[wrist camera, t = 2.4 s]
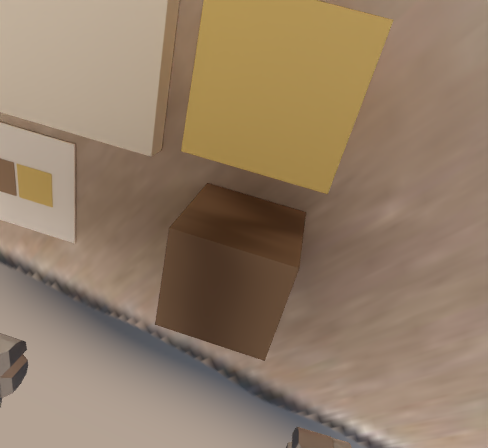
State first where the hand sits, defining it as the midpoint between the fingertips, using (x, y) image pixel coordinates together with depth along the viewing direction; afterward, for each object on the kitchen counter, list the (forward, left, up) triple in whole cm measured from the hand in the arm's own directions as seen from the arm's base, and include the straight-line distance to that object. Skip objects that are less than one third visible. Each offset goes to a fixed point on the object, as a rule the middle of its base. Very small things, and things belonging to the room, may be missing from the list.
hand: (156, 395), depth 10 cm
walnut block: (-1, 0, -10) cm, 10 cm away
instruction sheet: (+13, 0, -10) cm, 16 cm away
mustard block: (-1, -8, -10) cm, 13 cm away
